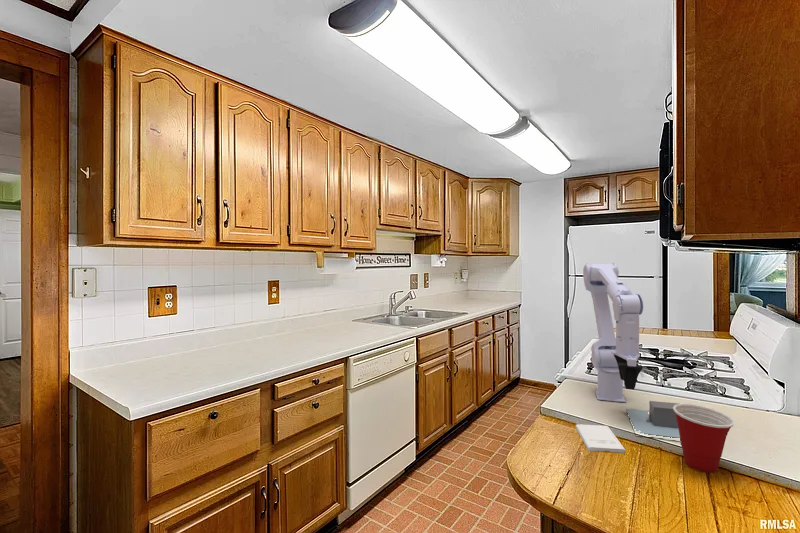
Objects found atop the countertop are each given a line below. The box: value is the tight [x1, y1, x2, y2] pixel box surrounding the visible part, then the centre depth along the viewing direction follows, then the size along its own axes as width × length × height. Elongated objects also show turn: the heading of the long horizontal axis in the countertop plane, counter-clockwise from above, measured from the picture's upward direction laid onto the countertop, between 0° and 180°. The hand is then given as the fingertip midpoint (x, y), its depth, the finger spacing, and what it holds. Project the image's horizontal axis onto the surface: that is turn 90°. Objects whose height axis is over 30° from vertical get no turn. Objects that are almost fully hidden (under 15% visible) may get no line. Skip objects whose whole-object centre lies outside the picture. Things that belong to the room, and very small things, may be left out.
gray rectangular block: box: [648, 400, 681, 428], centre depth 106 cm, size 4×7×5 cm, turn 70°
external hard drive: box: [575, 423, 626, 454], centre depth 101 cm, size 2×8×12 cm
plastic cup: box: [673, 403, 735, 474], centre depth 88 cm, size 11×11×12 cm
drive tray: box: [625, 407, 680, 438], centre depth 106 cm, size 16×18×4 cm
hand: (627, 384), depth 114 cm, fingers open, 7 cm apart
